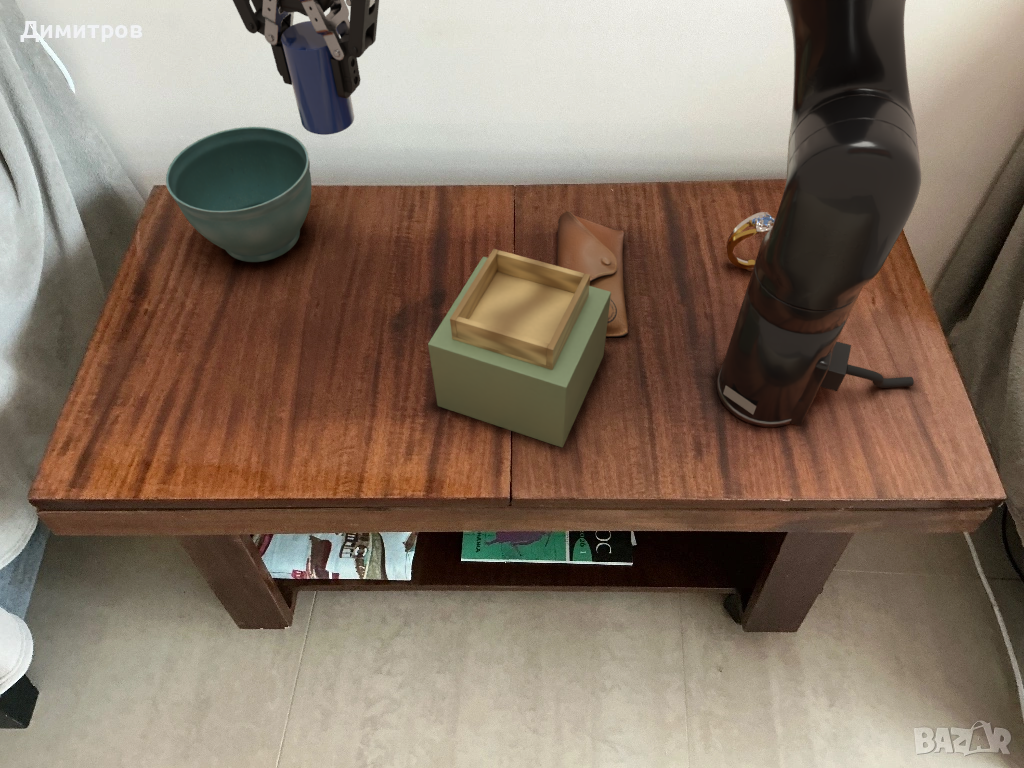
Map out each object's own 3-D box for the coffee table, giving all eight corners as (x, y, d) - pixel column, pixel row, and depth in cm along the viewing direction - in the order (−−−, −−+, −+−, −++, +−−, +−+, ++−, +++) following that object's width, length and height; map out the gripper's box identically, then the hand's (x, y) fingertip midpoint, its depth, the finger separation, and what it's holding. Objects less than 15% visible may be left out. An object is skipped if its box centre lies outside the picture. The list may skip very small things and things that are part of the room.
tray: (588, 296, 77) (590, 274, 75) (552, 370, 71) (553, 349, 69) (494, 269, 80) (493, 248, 77) (452, 339, 74) (449, 318, 72)
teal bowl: (241, 186, 104) (215, 115, 96) (349, 211, 101) (332, 139, 92) (171, 266, 95) (136, 194, 87) (287, 296, 92) (262, 225, 83)
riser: (603, 355, 85) (611, 291, 77) (562, 448, 78) (566, 387, 70) (486, 320, 89) (483, 256, 81) (437, 406, 81) (427, 344, 74)
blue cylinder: (363, 111, 72) (349, 26, 65) (337, 139, 69) (320, 54, 63) (319, 99, 73) (300, 16, 67) (291, 127, 70) (269, 43, 64)
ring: (721, 276, 92) (736, 224, 86) (719, 258, 94) (733, 206, 88) (781, 279, 92) (800, 227, 86) (777, 260, 94) (795, 208, 88)
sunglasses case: (633, 335, 86) (606, 298, 82) (577, 355, 89) (548, 320, 85) (624, 227, 97) (600, 190, 93) (575, 248, 100) (549, 213, 96)
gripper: (157, -129, 54) (228, 91, 68) (335, -97, 51) (372, 128, 65) (220, -165, 59) (275, 49, 72) (388, -138, 55) (413, 81, 69)
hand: (321, 85), depth 68 cm, fingers closed on blue cylinder, 4 cm apart
